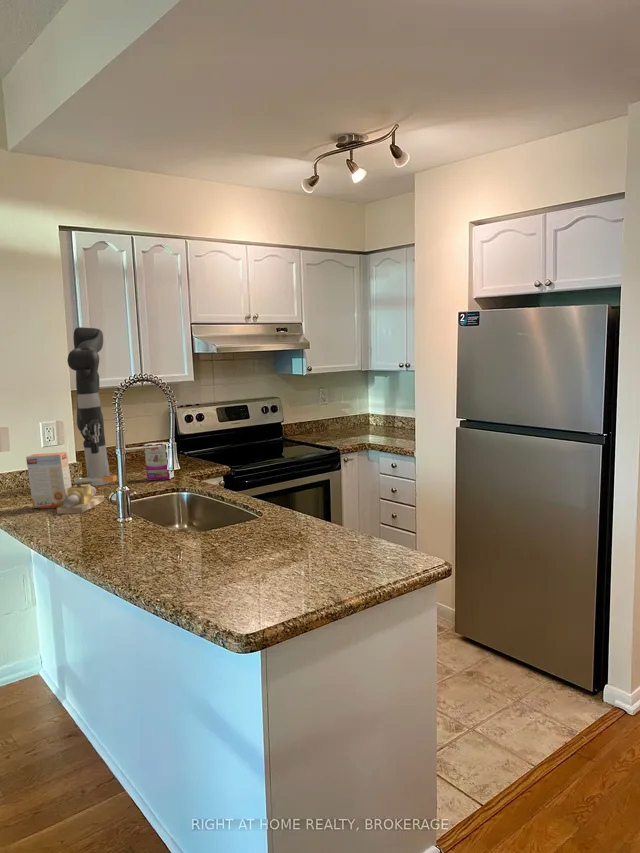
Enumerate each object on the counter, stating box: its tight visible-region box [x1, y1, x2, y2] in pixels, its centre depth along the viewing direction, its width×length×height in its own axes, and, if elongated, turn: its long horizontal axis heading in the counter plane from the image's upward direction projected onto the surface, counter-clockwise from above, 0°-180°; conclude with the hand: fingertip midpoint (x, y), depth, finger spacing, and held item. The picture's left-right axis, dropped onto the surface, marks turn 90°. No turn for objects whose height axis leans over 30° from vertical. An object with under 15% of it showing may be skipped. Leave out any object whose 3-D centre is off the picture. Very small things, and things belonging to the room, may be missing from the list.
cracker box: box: [25, 451, 73, 509], centre depth 244 cm, size 14×6×21 cm, turn 84°
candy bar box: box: [143, 441, 175, 480], centre depth 281 cm, size 11×5×16 cm, turn 77°
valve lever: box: [73, 474, 118, 485], centre depth 239 cm, size 16×3×2 cm, turn 82°
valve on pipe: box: [56, 483, 105, 514], centre depth 241 cm, size 17×10×9 cm, turn 172°
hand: (95, 453), depth 228 cm, fingers closed
